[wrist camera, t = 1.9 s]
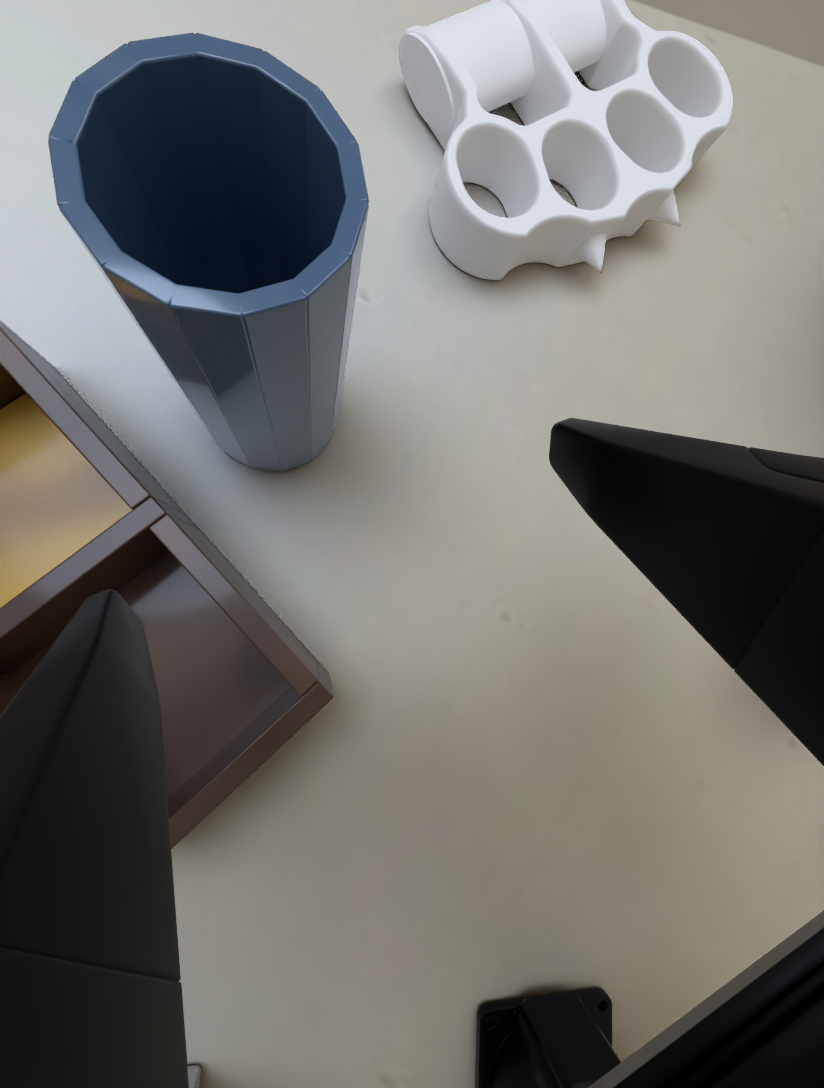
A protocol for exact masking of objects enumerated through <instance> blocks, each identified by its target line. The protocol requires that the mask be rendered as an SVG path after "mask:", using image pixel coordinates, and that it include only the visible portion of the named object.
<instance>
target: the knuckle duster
mask: <svg viewBox="0 0 824 1088" xmlns="http://www.w3.org/2000/svg"><path fill="white" fill-rule="evenodd" d="M399 60H400V66H401V71H402V74H403V77H404V80H405V84H406V86H407V89H408V92H409V94H410V96H411V99H412V101H413V103H414V105H415V106H416V108H417V110H418V112H419V113H420V115H421V116H422V117H423V119H424V120H425V121H426V122H427V123H428V125H429V127H430V128H431V130H432V132H433V133H434V135H435V136H436V138H437V139H438V141H439V142H440V144H441V146H442V147H443V149H444V150H445V152H444V156H443V159H442V162H441V166H440V169H439V172H438V176H437V179H436V182H435V186H434V189H433V192H432V196H431V200H430V206H429V219H430V225H431V230H432V233H433V236H434V238H435V240H436V242H437V244H438V246H439V247H440V249H441V250H442V252H443V253H444V254H445V256H446V257H447V258H448V259H449V260H450V261H451V262H452V263H453V264H454V265H456V266H457V267H458V268H460V269H461V270H463V271H465V272H466V273H468V274H471V275H473V276H476V277H479V278H483V279H489V280H500V279H502V278H503V277H504V275H505V274H506V273H507V272H509V271H510V270H511V269H513V268H514V267H516V266H519V265H521V264H525V263H531V262H540V263H546V264H550V265H553V266H556V267H562V266H567V265H571V264H576V263H580V262H587V263H588V264H589V265H591V266H592V267H593V268H595V269H596V270H597V271H599V272H600V273H602V266H603V258H604V251H605V243H606V241H607V240H608V239H611V238H614V237H619V236H632V235H633V234H634V233H635V232H636V231H637V230H638V229H639V228H640V226H641V225H642V224H643V223H644V222H645V221H646V220H647V219H648V220H653V221H658V222H662V223H667V224H671V225H676V226H680V221H679V216H678V210H677V205H676V200H675V195H674V189H675V187H676V186H677V185H678V184H679V183H680V182H681V181H682V179H683V178H684V177H685V176H686V175H687V174H688V173H689V171H690V169H691V167H692V166H693V165H694V164H695V163H696V162H697V161H698V160H699V159H700V157H701V156H702V155H703V154H704V153H705V152H706V151H707V150H708V149H709V147H710V146H711V145H712V144H713V143H714V142H715V141H716V140H717V139H718V137H719V136H720V135H721V134H722V133H723V132H724V131H725V129H726V127H727V125H728V123H729V121H730V118H731V114H732V107H733V97H732V90H731V86H730V83H729V80H728V77H727V75H726V73H725V71H724V69H723V67H722V66H721V64H720V62H719V61H718V60H717V58H716V57H715V56H714V55H713V54H712V53H711V52H710V51H709V50H708V49H707V48H706V47H705V46H704V45H703V44H701V43H700V42H698V41H697V40H695V39H694V38H692V37H690V36H688V35H685V34H682V33H679V32H675V31H656V30H653V29H652V28H650V27H649V26H647V25H645V24H644V23H642V22H641V21H639V20H637V19H636V18H635V17H634V16H633V15H632V13H631V12H630V10H629V8H628V7H627V5H626V4H625V2H624V0H488V2H486V3H484V4H481V5H479V6H476V7H474V8H471V9H468V10H466V11H463V12H461V13H458V14H456V15H453V16H451V17H448V18H446V19H443V20H440V21H438V22H435V23H433V24H430V25H428V26H425V27H421V26H417V25H415V26H413V27H410V28H408V29H407V30H406V34H405V35H404V36H403V37H402V38H401V41H400V46H399ZM576 71H579V73H580V74H581V76H582V78H583V79H584V81H585V82H586V84H587V86H588V87H590V88H591V89H593V90H595V91H592V90H589V89H587V88H586V87H584V86H583V85H582V84H581V83H580V82H579V80H578V79H577V77H576V76H575V74H574V72H576ZM509 102H510V103H511V104H512V106H513V107H514V109H515V111H516V112H517V114H518V115H519V117H520V119H521V120H522V122H523V123H524V125H525V126H522V125H518V124H516V123H514V122H513V121H511V120H509V119H507V118H504V117H502V116H498V115H494V114H490V113H488V112H490V111H492V110H494V109H496V108H498V107H501V106H503V105H505V104H507V103H509ZM550 179H552V180H554V181H556V182H558V183H560V184H561V185H562V186H564V187H565V188H566V189H567V190H568V191H569V192H570V194H571V195H572V197H573V198H574V200H575V202H576V205H577V207H575V206H573V205H571V204H569V203H568V202H566V201H565V200H564V199H563V198H562V197H561V196H560V195H559V194H558V193H557V192H556V190H555V189H554V187H553V186H552V184H551V182H550ZM463 182H470V183H476V184H479V185H481V186H484V187H486V188H487V189H489V190H490V191H491V192H493V193H494V194H495V195H496V196H497V197H498V199H499V200H500V201H501V203H502V205H503V206H504V209H505V211H506V214H507V218H504V217H498V216H495V215H492V214H490V213H488V212H486V211H485V210H483V209H482V208H480V207H479V206H478V205H477V204H476V203H475V202H474V201H473V200H472V199H471V198H470V196H469V195H468V193H467V191H466V189H465V187H464V184H463Z"/></svg>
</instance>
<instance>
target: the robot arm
mask: <svg viewBox="0 0 824 1088" xmlns="http://www.w3.org/2000/svg"><path fill="white" fill-rule="evenodd" d="M549 460H550V464H551V466H552V468H553V469H554V471H555V472H556V473H557V475H558V476H559V477H560V479H561V480H562V481H563V483H564V484H565V485H566V487H567V488H568V489H569V491H570V492H571V493H572V495H573V496H574V497H575V499H576V500H577V501H578V503H579V504H580V505H581V507H582V508H583V509H584V510H585V512H586V513H587V514H588V515H589V517H590V518H591V519H592V520H593V521H594V522H595V523H596V524H597V525H598V527H599V528H600V529H601V530H602V531H603V532H604V533H605V534H606V535H607V536H608V537H609V538H610V539H611V540H612V541H613V542H614V544H615V545H616V546H617V547H618V548H619V549H620V550H621V551H622V552H623V553H624V554H625V555H626V556H627V557H628V558H629V559H630V561H631V562H632V563H633V564H634V565H635V566H636V567H637V568H638V569H639V570H640V571H641V572H642V573H643V574H644V575H645V576H646V578H647V579H648V580H649V581H650V582H651V583H652V584H653V585H654V586H655V587H656V588H657V589H658V590H659V591H660V592H661V593H662V595H663V596H664V597H665V598H666V599H667V600H668V601H669V602H670V603H671V604H672V605H673V606H674V607H675V608H676V609H677V610H678V611H679V613H680V614H681V615H682V616H683V617H684V618H685V619H686V620H687V621H688V622H689V623H690V624H691V625H692V626H693V627H694V628H695V630H696V631H697V632H698V633H699V634H700V635H701V636H702V637H703V638H704V639H705V640H706V641H707V642H708V643H709V644H710V645H711V647H712V648H713V649H714V650H715V651H716V652H717V653H718V654H719V655H720V656H721V657H722V658H723V659H724V660H725V661H726V662H727V664H728V665H729V666H730V667H731V668H732V669H735V670H734V671H735V672H736V673H737V674H738V676H739V677H740V678H741V679H742V680H743V681H744V682H745V683H746V684H747V685H748V686H749V687H750V688H751V689H752V690H753V691H754V693H755V694H756V695H757V696H758V697H759V698H760V699H761V700H762V701H763V702H764V703H765V704H766V705H767V706H768V707H769V709H770V710H771V711H772V712H773V713H774V714H775V715H776V716H777V717H778V718H779V719H780V720H781V721H782V722H783V723H784V724H785V726H786V727H787V728H788V729H789V730H790V731H791V732H792V733H793V734H794V735H795V736H796V737H797V738H798V739H799V740H800V741H801V743H802V744H803V745H804V746H805V747H806V748H807V749H808V750H809V751H810V752H811V753H812V754H813V755H814V756H815V757H816V758H817V760H818V761H819V762H820V763H821V764H822V765H823V766H824V458H819V457H811V456H803V455H796V454H790V453H783V452H776V451H770V450H764V449H758V448H752V447H750V448H747V447H745V446H739V445H733V444H727V443H721V442H715V441H709V440H703V439H697V438H691V437H685V436H678V435H672V434H666V433H660V432H654V431H648V430H642V429H636V428H630V427H624V426H618V425H612V424H606V423H600V422H594V421H588V420H581V419H575V418H569V419H566V420H563V421H561V422H558V423H556V424H555V425H554V426H553V427H552V430H551V440H550V451H549ZM179 981H180V964H179V950H178V937H177V923H176V910H175V896H174V883H173V870H172V856H171V843H170V829H169V816H168V802H167V789H166V775H165V762H164V748H163V735H162V721H161V709H160V700H159V695H158V690H157V685H156V680H155V676H154V671H153V666H152V662H151V657H150V653H149V648H148V643H147V639H146V634H145V630H144V626H143V624H142V622H141V620H140V618H139V617H138V615H137V614H136V613H135V612H134V611H133V609H132V608H131V607H130V606H129V605H128V603H127V602H126V601H125V600H124V599H123V598H122V596H121V595H120V594H119V593H118V592H117V591H115V590H112V589H108V590H106V591H103V592H100V593H97V594H95V595H92V596H90V597H88V598H86V600H85V601H84V602H83V603H82V605H81V606H80V607H79V609H78V610H77V612H76V613H75V614H74V616H73V617H72V618H71V620H70V621H69V623H68V624H67V625H66V627H65V628H64V629H63V631H62V632H61V633H60V635H59V636H58V638H57V639H56V640H55V642H54V643H53V644H52V646H51V647H50V649H49V650H48V651H47V653H46V654H45V655H44V657H43V658H42V660H41V661H40V662H39V664H38V665H37V666H36V668H35V669H34V670H33V672H32V673H31V675H30V676H29V677H28V679H27V680H26V681H25V683H24V684H23V686H22V687H21V688H20V690H19V691H18V692H17V694H16V695H15V696H14V698H13V699H12V701H11V702H10V703H9V705H8V706H7V707H6V709H5V710H4V712H3V713H2V714H1V716H0V1088H189V1080H188V1067H187V1054H186V1040H185V1027H184V1013H183V1000H182V986H181V983H180V982H179ZM600 1001H602V1002H601V1003H600V1004H598V1003H599V1002H600ZM490 1016H492V1018H491V1019H490V1020H488V1021H486V1019H487V1018H488V1017H490ZM475 1088H824V911H823V912H821V913H820V914H819V915H817V916H816V917H815V918H813V919H812V920H811V921H809V922H808V923H807V924H805V925H804V926H803V927H801V928H800V929H799V930H797V931H796V932H795V933H793V934H792V935H791V936H789V937H788V938H787V939H785V940H784V941H783V942H781V943H780V944H779V945H777V946H776V947H775V948H773V949H772V950H771V951H769V952H768V953H767V954H765V955H764V956H763V957H761V958H760V959H759V960H757V961H756V962H755V963H753V964H752V965H751V966H749V967H748V968H747V969H745V970H744V971H743V972H741V973H740V974H739V975H737V976H736V977H735V978H733V979H732V980H731V981H729V982H728V983H727V984H725V985H724V986H723V987H721V988H720V989H719V990H717V991H716V992H715V993H713V994H712V995H711V996H709V997H708V998H707V999H705V1000H704V1001H703V1002H701V1003H700V1004H699V1005H697V1006H696V1007H695V1008H693V1009H692V1010H691V1011H689V1012H688V1013H687V1014H685V1015H684V1016H683V1017H681V1018H680V1019H679V1020H677V1021H676V1022H675V1023H673V1024H672V1025H671V1026H669V1027H668V1028H667V1029H665V1030H664V1031H663V1032H661V1033H660V1034H659V1035H657V1036H656V1037H655V1038H653V1039H652V1040H651V1041H649V1042H648V1043H647V1044H645V1045H644V1046H643V1047H641V1048H640V1049H639V1050H637V1051H636V1052H635V1053H633V1054H632V1055H631V1056H629V1057H628V1058H627V1059H625V1060H624V1061H623V1062H621V1060H620V1059H619V1057H618V1056H617V1054H616V1053H615V1051H614V1050H613V1048H612V1003H611V999H610V998H609V996H608V995H607V993H606V992H605V991H604V990H603V989H602V988H591V989H584V990H576V991H569V992H562V993H554V994H547V995H540V996H532V997H525V998H518V999H510V1000H503V1001H496V1002H488V1003H485V1004H483V1005H482V1006H481V1007H480V1009H479V1010H478V1013H477V1037H476V1080H475Z"/></svg>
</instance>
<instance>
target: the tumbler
mask: <svg viewBox="0 0 824 1088" xmlns="http://www.w3.org/2000/svg"><path fill="white" fill-rule="evenodd" d="M48 144H49V150H50V157H51V164H52V171H53V178H54V184H55V191H56V198H57V205H58V206H59V208H60V211H61V213H62V214H63V216H64V217H65V219H66V220H67V222H68V223H69V225H70V226H71V228H72V229H73V231H74V232H75V234H76V235H77V237H78V238H79V240H80V241H81V242H82V244H83V245H84V247H85V248H86V250H87V251H88V253H89V254H90V256H91V257H92V259H93V260H94V262H95V263H96V265H97V266H98V268H99V269H100V271H101V272H102V274H103V275H104V277H105V278H106V280H107V281H108V283H109V284H110V286H111V287H112V289H113V290H114V292H115V293H116V295H117V296H118V298H119V299H120V301H121V302H122V303H123V305H124V306H125V308H126V309H127V311H128V312H129V314H130V315H131V317H132V318H133V320H134V321H135V323H136V324H137V326H138V327H139V329H140V330H141V332H142V333H143V335H144V336H145V338H146V339H147V341H148V342H149V344H150V345H151V347H152V348H153V350H154V351H155V353H156V354H157V356H158V357H159V359H160V360H161V362H162V363H163V365H164V366H165V367H166V369H167V370H168V372H169V373H170V375H171V376H172V378H173V379H174V381H175V382H176V384H177V385H178V387H179V388H180V390H181V391H182V393H183V394H184V396H185V397H186V399H187V400H188V402H189V403H190V405H191V406H192V408H193V409H194V411H195V412H196V414H197V415H198V417H199V418H200V420H201V421H202V423H203V424H204V426H205V427H206V428H207V430H208V431H209V432H210V434H211V435H212V437H213V438H214V440H215V441H216V442H217V443H218V445H219V446H220V448H221V449H222V450H223V451H225V452H226V453H227V454H228V455H230V456H231V457H232V458H234V459H235V460H237V461H239V462H240V463H242V464H245V465H247V466H249V467H252V468H256V469H260V470H267V471H280V470H288V469H292V468H295V467H298V466H301V465H303V464H305V463H307V462H309V461H310V460H312V459H313V458H314V457H316V456H317V455H318V454H319V453H320V452H321V451H322V450H323V449H324V448H325V446H326V445H327V444H328V442H329V441H330V439H331V437H332V435H333V432H334V430H335V426H336V422H337V418H338V414H339V410H340V403H341V396H342V389H343V382H344V375H345V368H346V361H347V354H348V347H349V340H350V333H351V326H352V319H353V312H354V305H355V298H356V291H357V284H358V277H359V270H360V263H361V256H362V249H363V242H364V235H365V228H366V221H367V214H368V207H369V205H368V204H369V199H368V193H367V188H366V182H365V177H364V172H363V166H362V161H361V155H360V150H359V146H358V144H357V141H356V139H355V138H354V136H353V135H352V134H351V132H350V131H349V129H348V128H347V126H346V125H345V123H344V122H343V120H342V119H341V118H340V116H339V115H338V113H337V112H336V110H335V109H334V107H333V106H332V104H331V103H330V102H329V100H328V99H327V97H326V96H325V94H324V93H323V91H321V90H320V89H319V87H317V86H316V85H314V84H313V83H311V82H310V81H309V80H307V79H306V78H304V77H303V76H301V75H300V74H298V73H297V72H295V71H294V70H292V69H291V68H290V67H288V66H287V65H285V64H284V63H282V62H281V61H279V60H278V59H276V58H275V57H274V56H272V55H271V54H269V53H268V52H266V51H263V50H262V49H259V48H255V47H251V46H247V45H243V44H239V43H235V42H231V41H227V40H223V39H219V38H215V37H211V36H207V35H203V34H199V33H196V34H194V33H187V34H180V35H173V36H166V37H159V38H152V39H145V40H138V41H131V42H129V43H128V44H123V45H122V46H121V47H119V48H118V49H116V50H115V51H113V52H112V53H110V54H109V55H108V56H106V57H105V58H103V59H102V60H100V61H99V62H98V63H96V64H95V65H93V66H92V67H90V68H89V69H87V70H86V71H85V72H83V73H82V74H80V75H79V76H77V77H76V78H75V81H72V83H71V85H70V88H69V90H68V92H67V95H66V97H65V99H64V101H63V104H62V106H61V108H60V111H59V113H58V115H57V117H56V120H55V122H54V124H53V127H52V129H51V131H50V133H49V140H48Z"/></svg>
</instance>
